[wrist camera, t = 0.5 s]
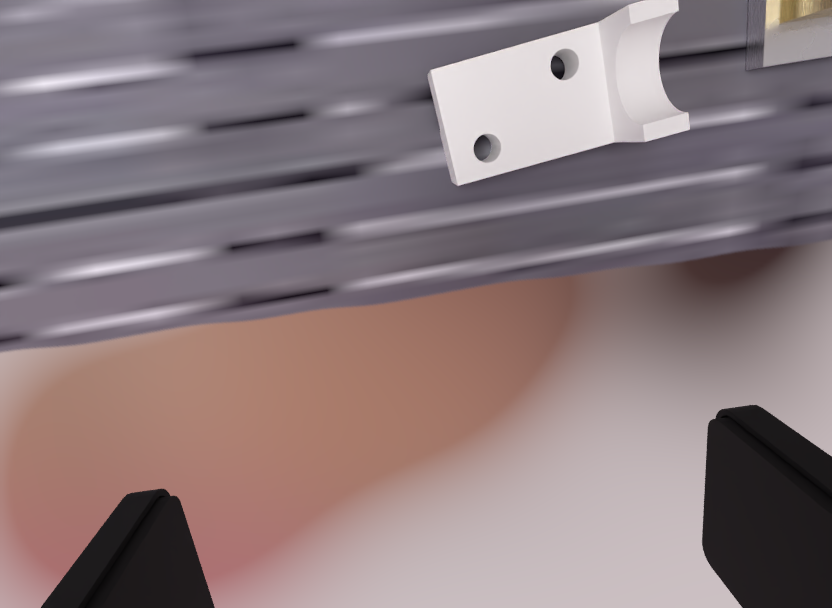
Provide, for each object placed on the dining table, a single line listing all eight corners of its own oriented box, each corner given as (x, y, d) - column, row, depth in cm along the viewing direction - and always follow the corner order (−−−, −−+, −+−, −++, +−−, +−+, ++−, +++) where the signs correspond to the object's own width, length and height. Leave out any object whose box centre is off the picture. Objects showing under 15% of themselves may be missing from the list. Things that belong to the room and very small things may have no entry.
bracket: (615, 23, 34) (676, -10, 27) (629, 132, 36) (689, 129, 29) (426, 77, 34) (436, 59, 27) (451, 181, 36) (467, 191, 29)
